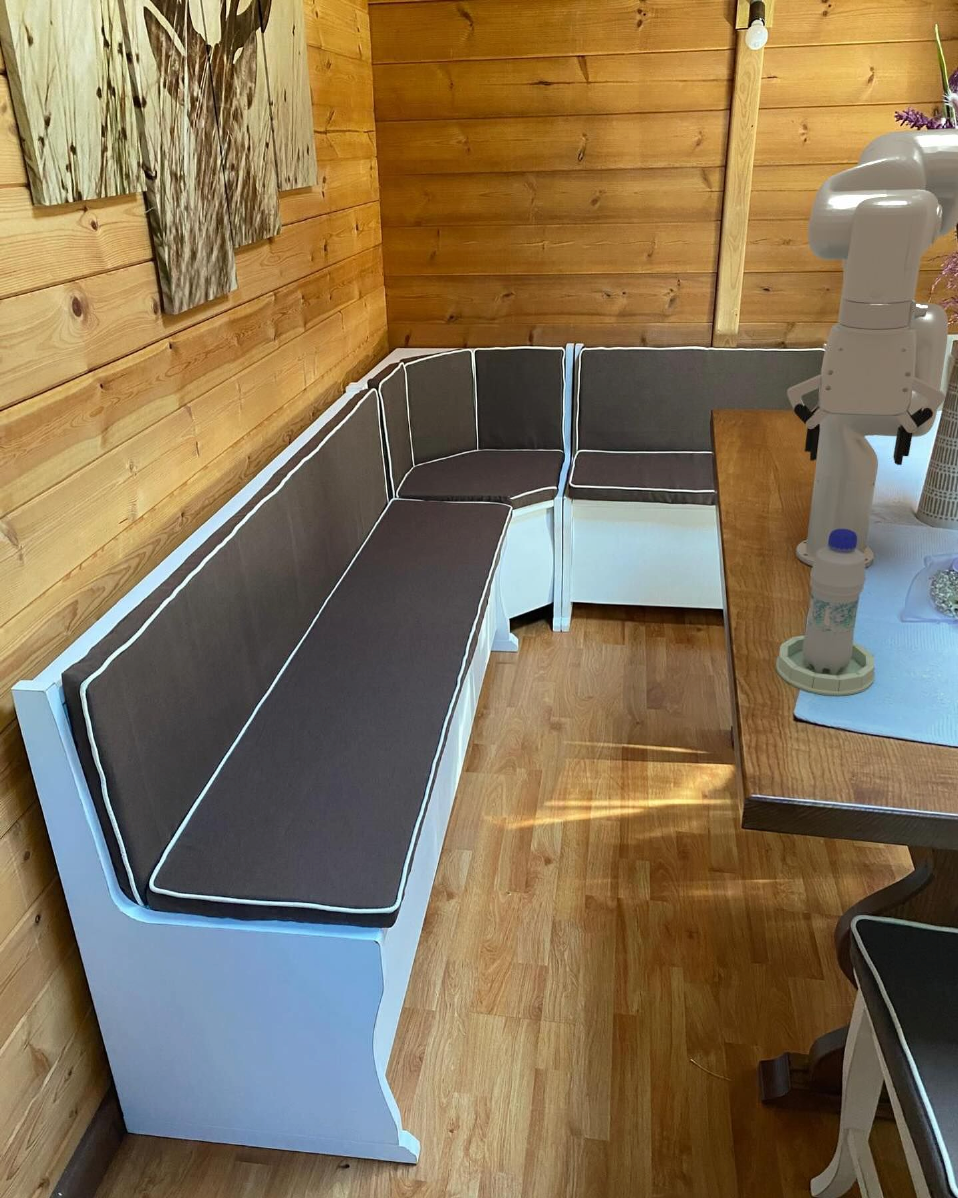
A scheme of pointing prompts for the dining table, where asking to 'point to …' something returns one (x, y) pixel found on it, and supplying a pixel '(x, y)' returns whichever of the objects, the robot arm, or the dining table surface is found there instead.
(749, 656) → the dining table surface
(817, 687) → the dish
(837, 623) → the bottle
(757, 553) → the dining table surface
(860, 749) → the dining table surface
